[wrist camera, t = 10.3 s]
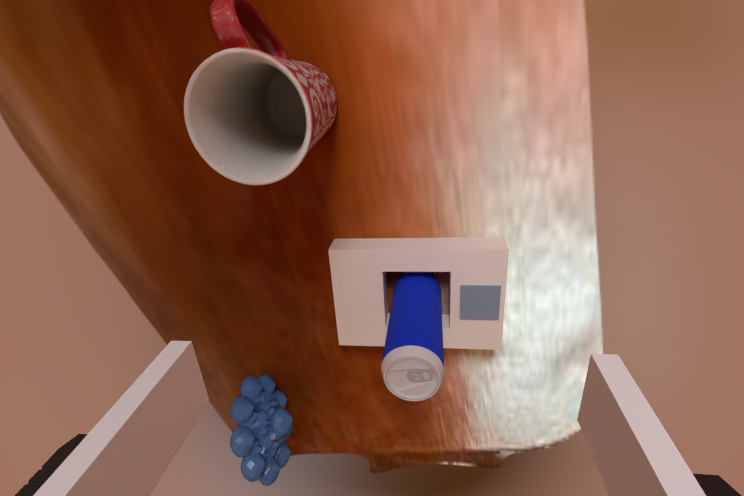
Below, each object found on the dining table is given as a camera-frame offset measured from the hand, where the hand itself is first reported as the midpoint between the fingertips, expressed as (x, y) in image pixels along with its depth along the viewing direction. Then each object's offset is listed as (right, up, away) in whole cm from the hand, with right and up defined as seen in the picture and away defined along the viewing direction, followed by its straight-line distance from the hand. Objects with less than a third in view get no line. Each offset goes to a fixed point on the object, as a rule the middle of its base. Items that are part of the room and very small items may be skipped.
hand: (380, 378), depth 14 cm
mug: (-7, +20, +26) cm, 33 cm away
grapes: (-12, -15, +42) cm, 46 cm away
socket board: (+5, 0, +33) cm, 33 cm away
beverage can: (+5, 0, +33) cm, 33 cm away
